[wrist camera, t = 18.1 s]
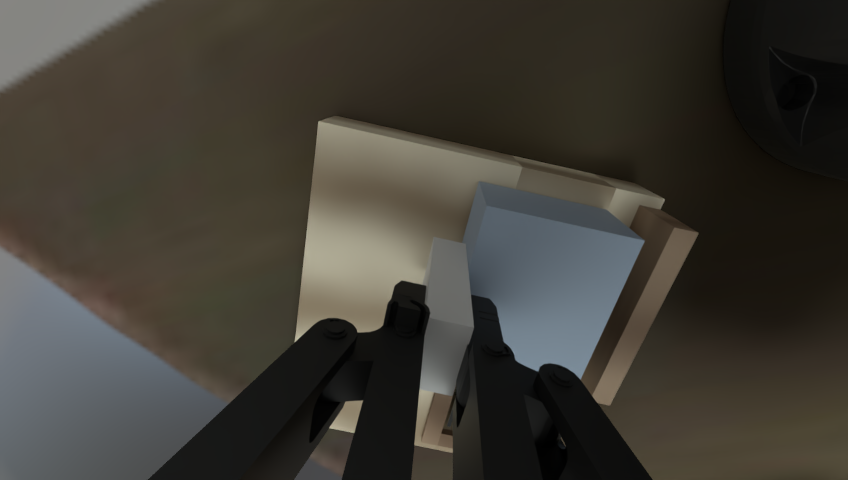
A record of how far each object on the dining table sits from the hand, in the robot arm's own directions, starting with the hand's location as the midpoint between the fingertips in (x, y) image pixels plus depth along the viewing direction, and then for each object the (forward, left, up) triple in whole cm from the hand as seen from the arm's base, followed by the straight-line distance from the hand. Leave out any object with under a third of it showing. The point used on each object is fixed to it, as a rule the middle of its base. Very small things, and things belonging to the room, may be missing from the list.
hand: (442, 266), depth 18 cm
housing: (0, +4, -1) cm, 4 cm away
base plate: (+4, +1, -5) cm, 6 cm away
